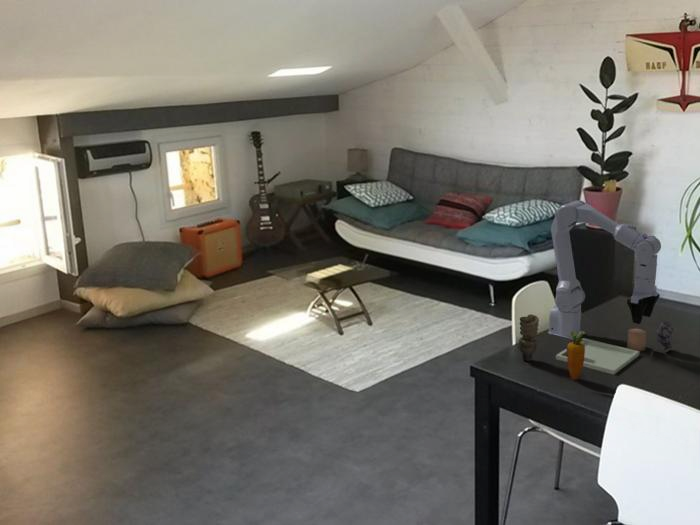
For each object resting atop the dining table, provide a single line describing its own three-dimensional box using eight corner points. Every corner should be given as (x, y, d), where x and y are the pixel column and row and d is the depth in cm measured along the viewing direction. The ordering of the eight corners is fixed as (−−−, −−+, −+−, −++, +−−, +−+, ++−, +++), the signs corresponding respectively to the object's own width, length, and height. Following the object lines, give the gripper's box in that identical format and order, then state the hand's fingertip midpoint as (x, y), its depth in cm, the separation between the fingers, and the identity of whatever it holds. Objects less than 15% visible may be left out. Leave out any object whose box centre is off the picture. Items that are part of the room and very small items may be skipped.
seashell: (675, 354, 219) (678, 323, 217) (656, 354, 220) (658, 323, 218) (671, 348, 224) (673, 317, 222) (652, 347, 225) (655, 317, 223)
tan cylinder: (624, 350, 224) (625, 332, 223) (631, 345, 228) (632, 327, 226) (640, 354, 221) (642, 335, 219) (647, 349, 224) (649, 331, 223)
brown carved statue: (538, 359, 219) (539, 312, 215) (536, 366, 214) (538, 319, 210) (519, 357, 221) (520, 311, 217) (517, 364, 216) (518, 317, 212)
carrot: (562, 377, 206) (565, 328, 202) (579, 376, 207) (582, 327, 203) (569, 385, 202) (571, 335, 198) (586, 384, 202) (589, 333, 198)
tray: (555, 360, 218) (555, 355, 218) (582, 343, 231) (583, 337, 230) (613, 376, 206) (614, 370, 206) (639, 356, 219) (639, 351, 218)
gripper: (649, 285, 209) (645, 329, 213) (668, 273, 219) (664, 315, 223) (625, 280, 214) (621, 323, 218) (644, 269, 224) (641, 311, 228)
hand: (641, 319), depth 221 cm, fingers open, 7 cm apart
